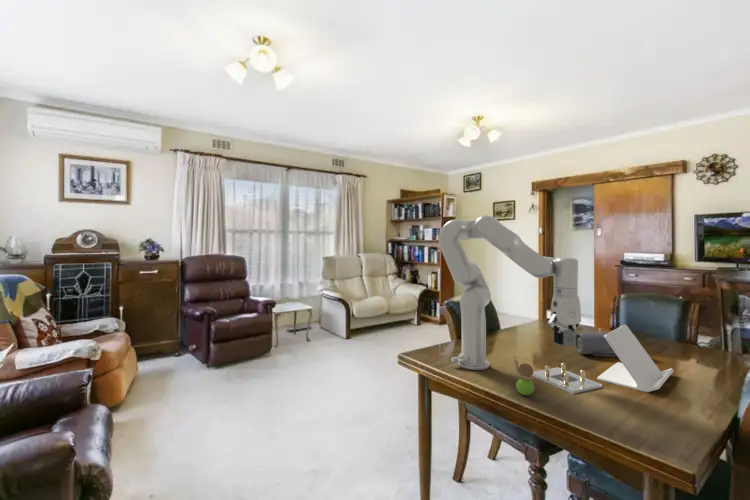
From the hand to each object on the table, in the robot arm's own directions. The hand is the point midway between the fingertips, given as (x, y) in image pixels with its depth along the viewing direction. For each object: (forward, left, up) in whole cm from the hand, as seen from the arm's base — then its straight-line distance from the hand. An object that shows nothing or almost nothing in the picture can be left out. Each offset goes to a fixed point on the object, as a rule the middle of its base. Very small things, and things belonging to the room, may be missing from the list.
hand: (564, 341), depth 129 cm
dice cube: (0, 0, -1) cm, 1 cm away
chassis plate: (0, 0, -14) cm, 14 cm away
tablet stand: (+27, -8, -15) cm, 32 cm away
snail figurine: (-22, -3, -14) cm, 26 cm away
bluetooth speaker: (+41, +14, -14) cm, 46 cm away
